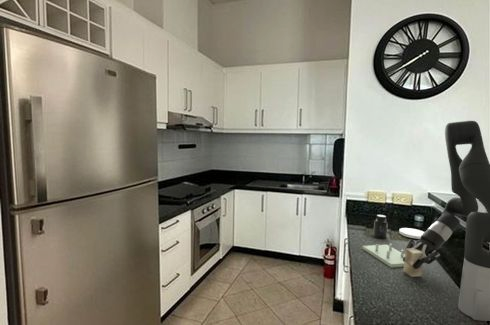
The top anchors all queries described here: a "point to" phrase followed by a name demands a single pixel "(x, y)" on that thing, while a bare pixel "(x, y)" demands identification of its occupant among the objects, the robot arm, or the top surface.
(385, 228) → the supplement bottle
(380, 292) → the top surface
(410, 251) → the ash block
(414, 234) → the plastic lid
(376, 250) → the peg board
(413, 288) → the top surface
